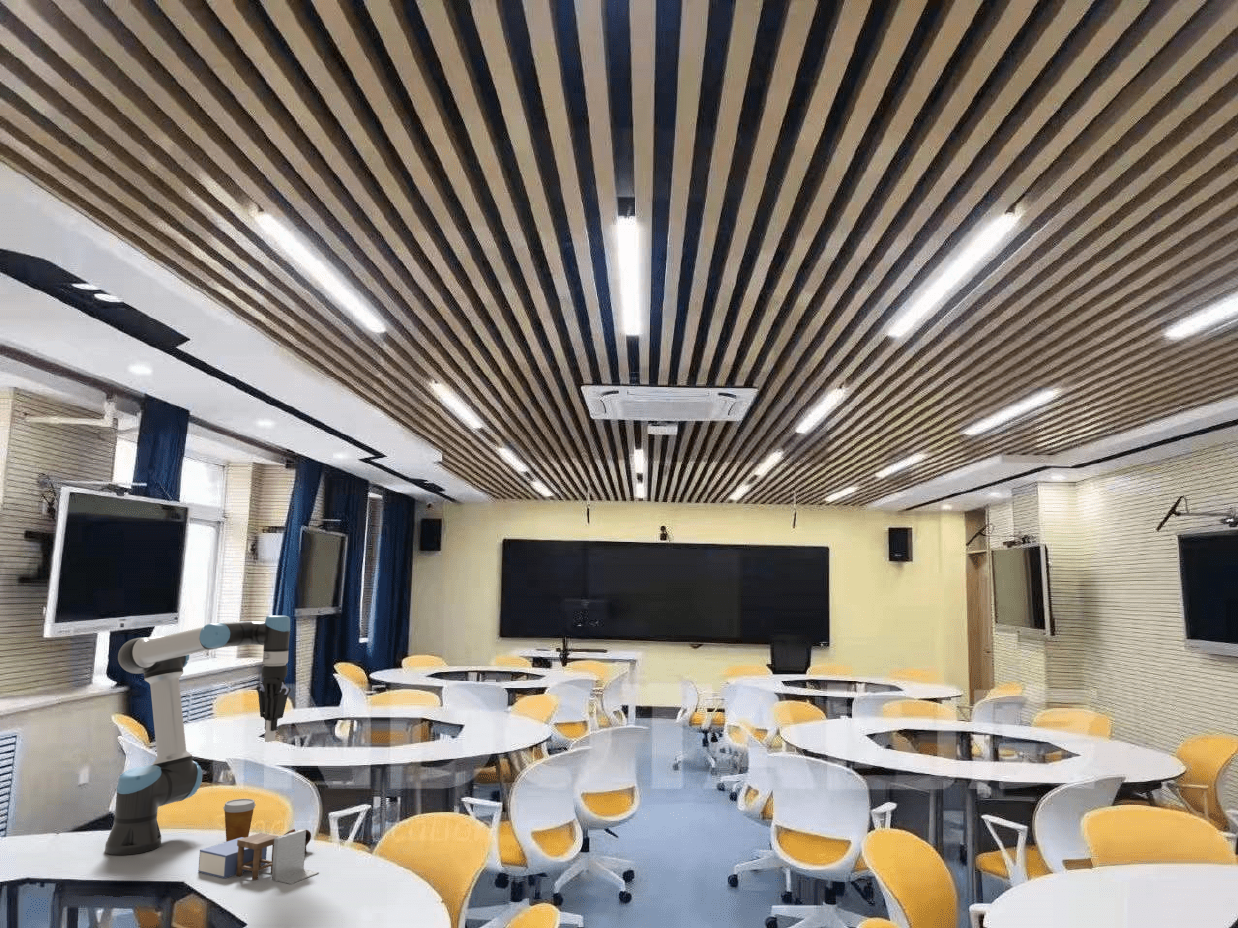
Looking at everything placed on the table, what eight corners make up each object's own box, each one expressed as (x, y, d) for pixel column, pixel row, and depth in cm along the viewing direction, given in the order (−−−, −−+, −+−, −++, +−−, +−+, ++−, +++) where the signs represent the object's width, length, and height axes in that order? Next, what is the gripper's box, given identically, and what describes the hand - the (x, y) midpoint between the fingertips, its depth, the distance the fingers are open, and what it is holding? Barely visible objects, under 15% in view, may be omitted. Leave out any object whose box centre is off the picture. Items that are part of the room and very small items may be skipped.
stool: (237, 839, 238) (257, 843, 234) (260, 832, 245) (280, 836, 241) (234, 875, 237) (254, 880, 233) (258, 867, 244) (278, 871, 240)
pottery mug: (292, 863, 249) (280, 838, 250) (274, 872, 253) (262, 847, 254) (323, 842, 260) (311, 817, 261) (305, 851, 264) (293, 827, 265)
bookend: (271, 879, 234) (274, 837, 235) (299, 869, 242) (302, 829, 244) (290, 884, 230) (293, 841, 232) (318, 873, 239) (321, 832, 241)
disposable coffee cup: (258, 837, 272) (261, 798, 274) (243, 846, 263) (245, 806, 265) (231, 836, 273) (233, 797, 275) (214, 845, 264) (217, 805, 266)
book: (198, 871, 239) (199, 849, 240) (240, 858, 252) (241, 836, 252) (224, 878, 234) (225, 855, 235) (265, 863, 247) (267, 842, 248)
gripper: (251, 664, 268) (245, 741, 264) (280, 666, 262) (274, 744, 258) (270, 662, 274) (265, 737, 271) (299, 664, 268) (294, 741, 265)
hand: (269, 741), depth 265 cm, fingers closed
